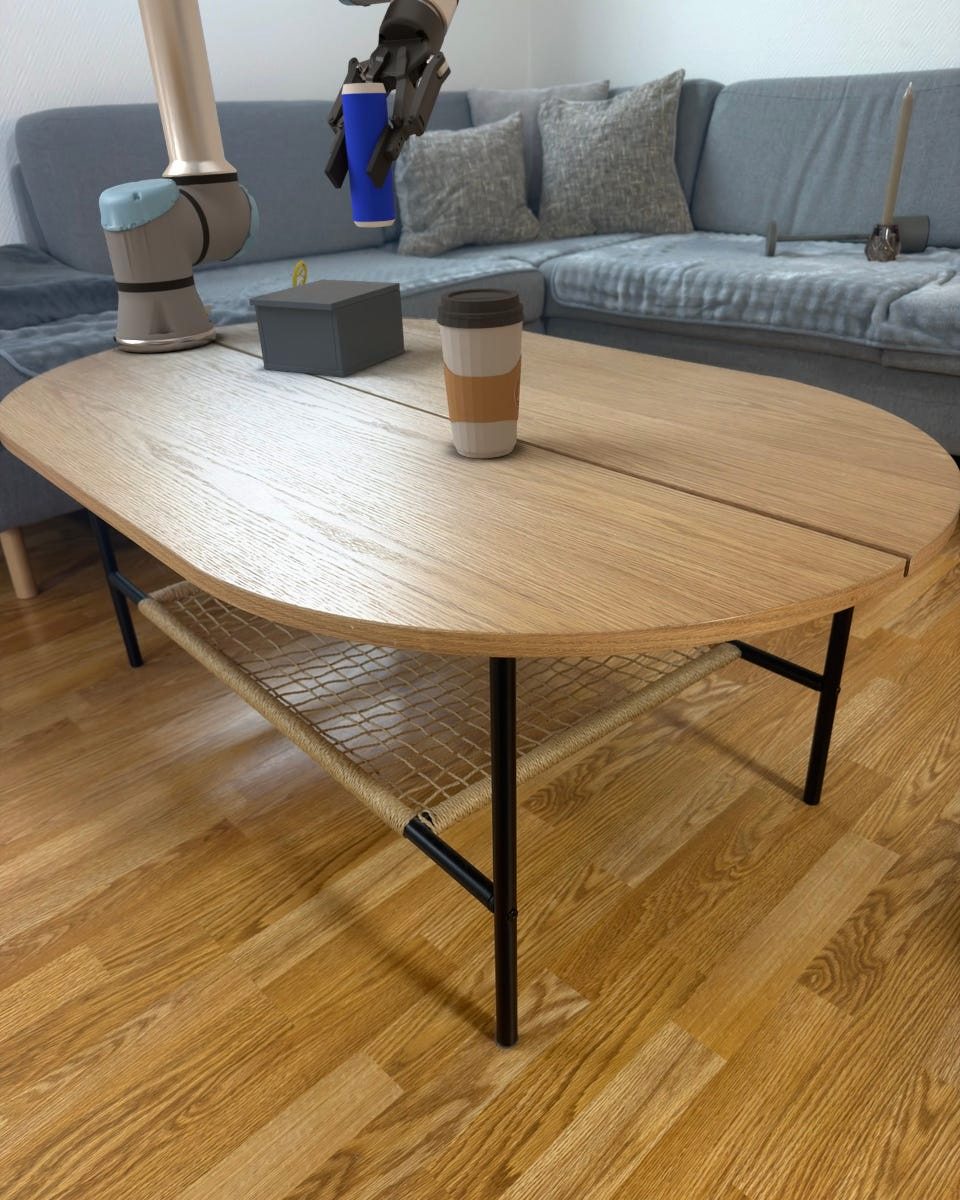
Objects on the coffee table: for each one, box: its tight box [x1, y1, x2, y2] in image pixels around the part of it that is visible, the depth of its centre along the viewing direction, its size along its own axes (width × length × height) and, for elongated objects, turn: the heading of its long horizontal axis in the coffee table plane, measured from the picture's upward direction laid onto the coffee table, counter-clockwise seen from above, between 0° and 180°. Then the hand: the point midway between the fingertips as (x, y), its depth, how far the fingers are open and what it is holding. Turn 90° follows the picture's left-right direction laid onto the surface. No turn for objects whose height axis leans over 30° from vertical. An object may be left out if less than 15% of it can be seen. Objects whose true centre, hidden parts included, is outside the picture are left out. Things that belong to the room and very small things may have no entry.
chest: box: [254, 289, 406, 378], centre depth 123 cm, size 16×14×9 cm
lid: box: [248, 279, 401, 310], centre depth 120 cm, size 16×14×1 cm
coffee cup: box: [436, 287, 526, 459], centre depth 85 cm, size 8×8×15 cm
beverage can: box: [342, 83, 396, 228], centre depth 103 cm, size 5×5×15 cm
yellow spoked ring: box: [292, 260, 308, 287], centre depth 145 cm, size 13×3×10 cm
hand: (353, 179), depth 102 cm, fingers closed on beverage can, 5 cm apart
